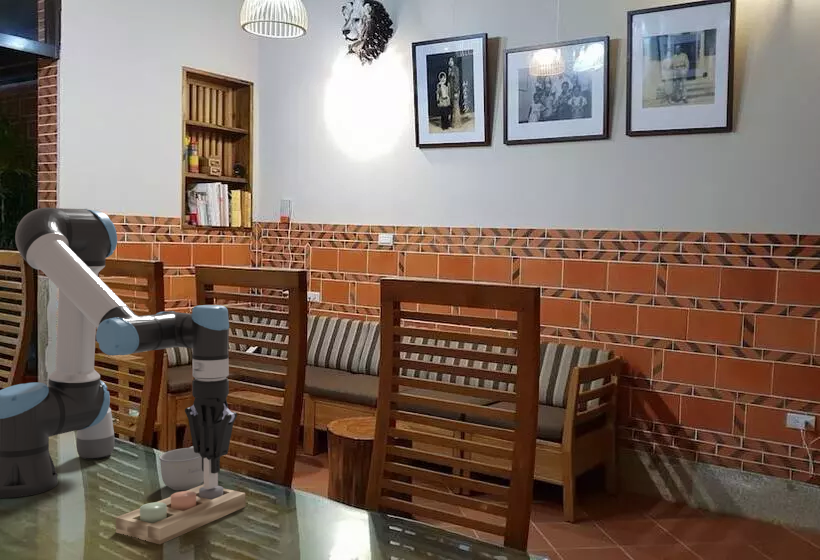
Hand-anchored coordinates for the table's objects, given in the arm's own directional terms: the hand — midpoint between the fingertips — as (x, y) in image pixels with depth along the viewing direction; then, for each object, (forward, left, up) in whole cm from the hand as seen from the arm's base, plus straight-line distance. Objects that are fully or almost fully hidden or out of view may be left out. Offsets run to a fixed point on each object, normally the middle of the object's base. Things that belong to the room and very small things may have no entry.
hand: (210, 486), depth 165 cm
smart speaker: (-54, +14, -5) cm, 56 cm away
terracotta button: (0, -8, -2) cm, 8 cm away
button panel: (0, -8, -4) cm, 9 cm away
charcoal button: (0, 0, -3) cm, 3 cm away
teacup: (-16, +9, -5) cm, 19 cm away
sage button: (0, -16, -2) cm, 16 cm away
